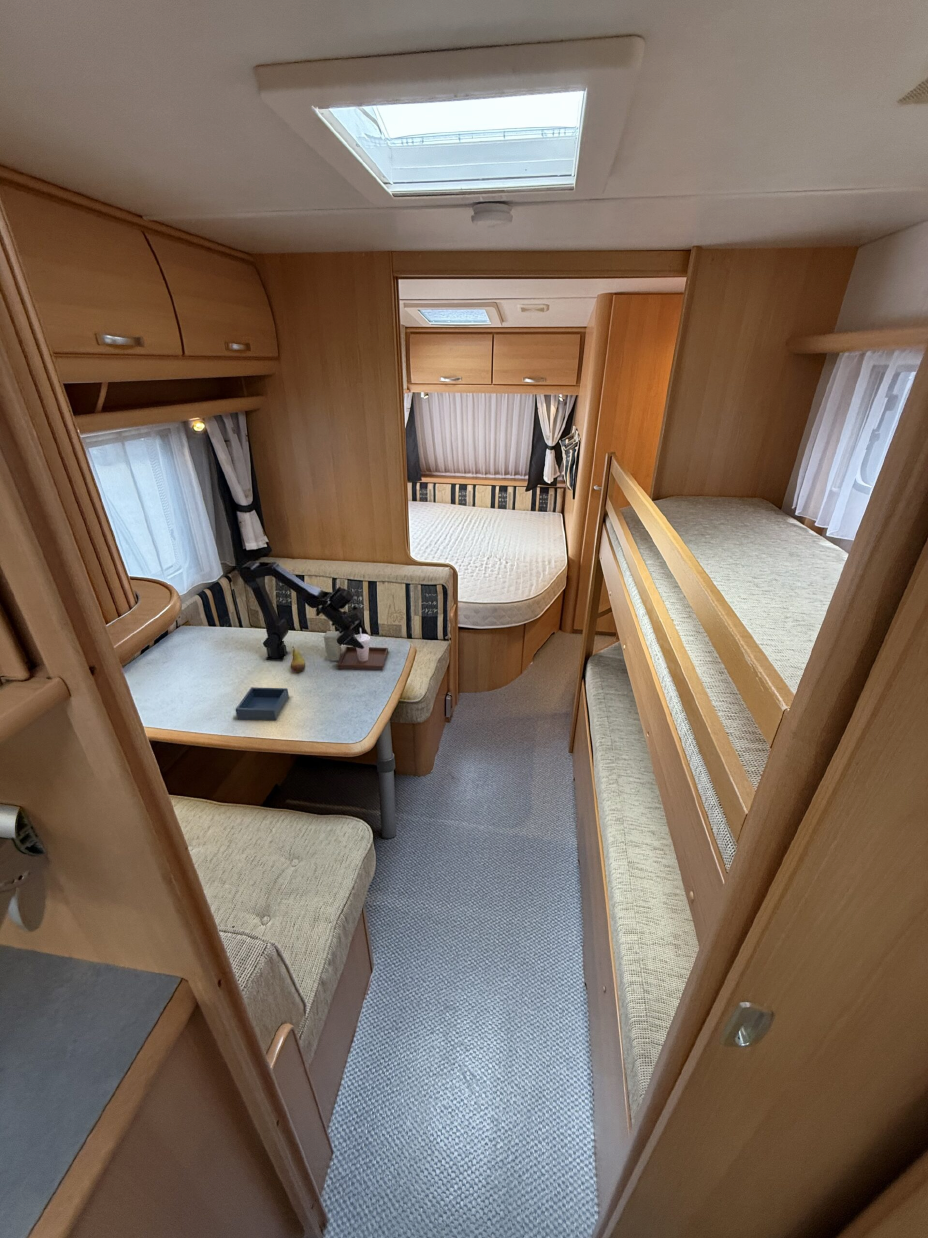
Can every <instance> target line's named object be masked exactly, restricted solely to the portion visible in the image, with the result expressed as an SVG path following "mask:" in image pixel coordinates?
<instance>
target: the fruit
mask: <svg viewBox="0 0 928 1238" xmlns="http://www.w3.org/2000/svg"><path fill="white" fill-rule="evenodd" d="M291 655H292V656H291V657H292V658H291V661H290V668H291V671H292V672H295V673H300V672H303V671H305V669H306V661H305V659H304V658H303V655H302V654H301V653H300V651H299V650H298V649H296V648H295V647H294V646H292V652H291Z"/></svg>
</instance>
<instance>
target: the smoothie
mask: <svg viewBox="0 0 928 1238" xmlns="http://www.w3.org/2000/svg"><path fill="white" fill-rule="evenodd" d="M369 635H370V634H369ZM369 635H367V634H362V633H361V628H360V634H359V633H357V634H355V637H356V639H357V640H358V641H359V642H360V643H361V644H362V645H363V646H364V648H363V649H360V648H356V650H357V654H358V658H359V661H367V660H368V654H369V647H370V641H371V636H369Z"/></svg>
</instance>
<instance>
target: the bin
mask: <svg viewBox="0 0 928 1238" xmlns="http://www.w3.org/2000/svg"><path fill="white" fill-rule="evenodd" d="M289 699H290V695H289V690H288V688H284V687H257V686H256V687H255V686H254V687H253V686H252V687H250V688H249V690H248V691H247V692H246V694H245V695H244V697H243V698H242V700H240V702H239V704H238V705H237V706H236V707H235V709H234V710H235V714H236V718H237V720H249V721H250V720H251V721H252V720H253V721H277V719H278V718H279V716H280V715H281V712H282V711H283V709H284V707H285V706H286V703H287V702H288V700H289Z"/></svg>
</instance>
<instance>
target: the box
mask: <svg viewBox="0 0 928 1238" xmlns="http://www.w3.org/2000/svg"><path fill="white" fill-rule="evenodd" d="M340 634H341V633H340V631H331V630H329V631H328V630H327V631H326V632H325V633H324V635H323V641H324V647H325V655H326V660H327V661H333V662H339V660H340V658H341V656H342V654H343V651H342V645H341V646H340V645H339V644H338V643H337V640H336V639H337V638H338V636H339V635H340Z"/></svg>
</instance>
